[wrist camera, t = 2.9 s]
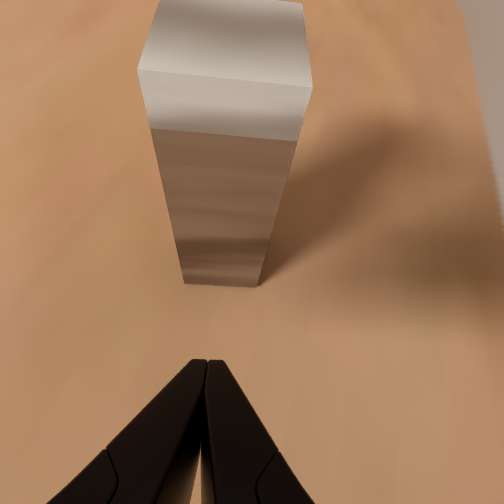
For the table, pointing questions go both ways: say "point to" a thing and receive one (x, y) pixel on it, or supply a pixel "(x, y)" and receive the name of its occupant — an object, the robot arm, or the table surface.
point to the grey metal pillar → (225, 126)
